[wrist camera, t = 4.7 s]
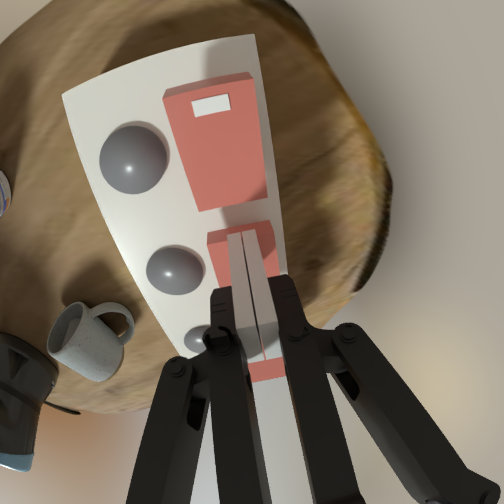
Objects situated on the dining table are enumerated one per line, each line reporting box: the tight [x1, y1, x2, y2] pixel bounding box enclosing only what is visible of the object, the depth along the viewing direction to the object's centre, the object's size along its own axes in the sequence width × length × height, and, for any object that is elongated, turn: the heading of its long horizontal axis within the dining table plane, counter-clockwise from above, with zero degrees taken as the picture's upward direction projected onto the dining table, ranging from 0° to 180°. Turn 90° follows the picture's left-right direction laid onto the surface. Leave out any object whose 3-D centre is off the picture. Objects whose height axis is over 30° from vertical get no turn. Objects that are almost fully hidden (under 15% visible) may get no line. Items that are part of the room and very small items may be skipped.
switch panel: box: [62, 34, 288, 359], centre depth 23 cm, size 12×34×6 cm, turn 9°
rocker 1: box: [162, 72, 268, 212], centre depth 13 cm, size 4×7×2 cm, turn 9°
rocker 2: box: [207, 220, 280, 288], centre depth 18 cm, size 4×7×2 cm, turn 9°
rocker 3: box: [247, 336, 286, 382], centre depth 24 cm, size 4×7×2 cm, turn 9°
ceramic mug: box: [47, 301, 135, 382], centre depth 26 cm, size 11×8×8 cm
